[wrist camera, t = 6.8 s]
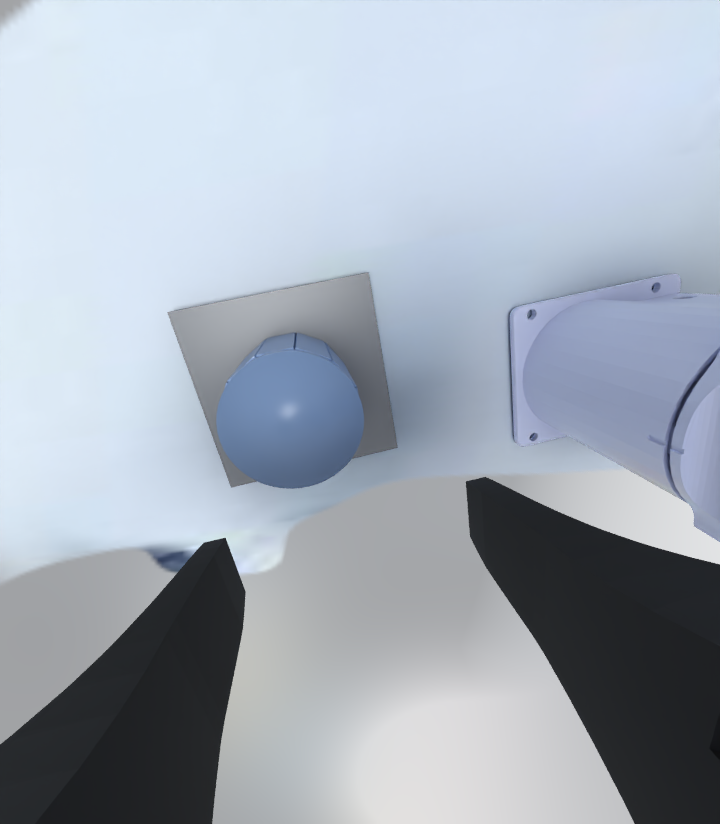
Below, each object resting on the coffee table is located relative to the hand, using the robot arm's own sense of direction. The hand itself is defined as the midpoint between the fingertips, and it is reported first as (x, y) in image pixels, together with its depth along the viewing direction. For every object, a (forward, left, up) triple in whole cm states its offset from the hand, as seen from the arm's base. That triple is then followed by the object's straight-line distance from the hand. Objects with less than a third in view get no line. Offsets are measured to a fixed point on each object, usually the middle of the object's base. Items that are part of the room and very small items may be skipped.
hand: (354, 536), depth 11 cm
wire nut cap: (+1, -3, -9) cm, 9 cm away
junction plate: (+1, -3, -9) cm, 10 cm away
